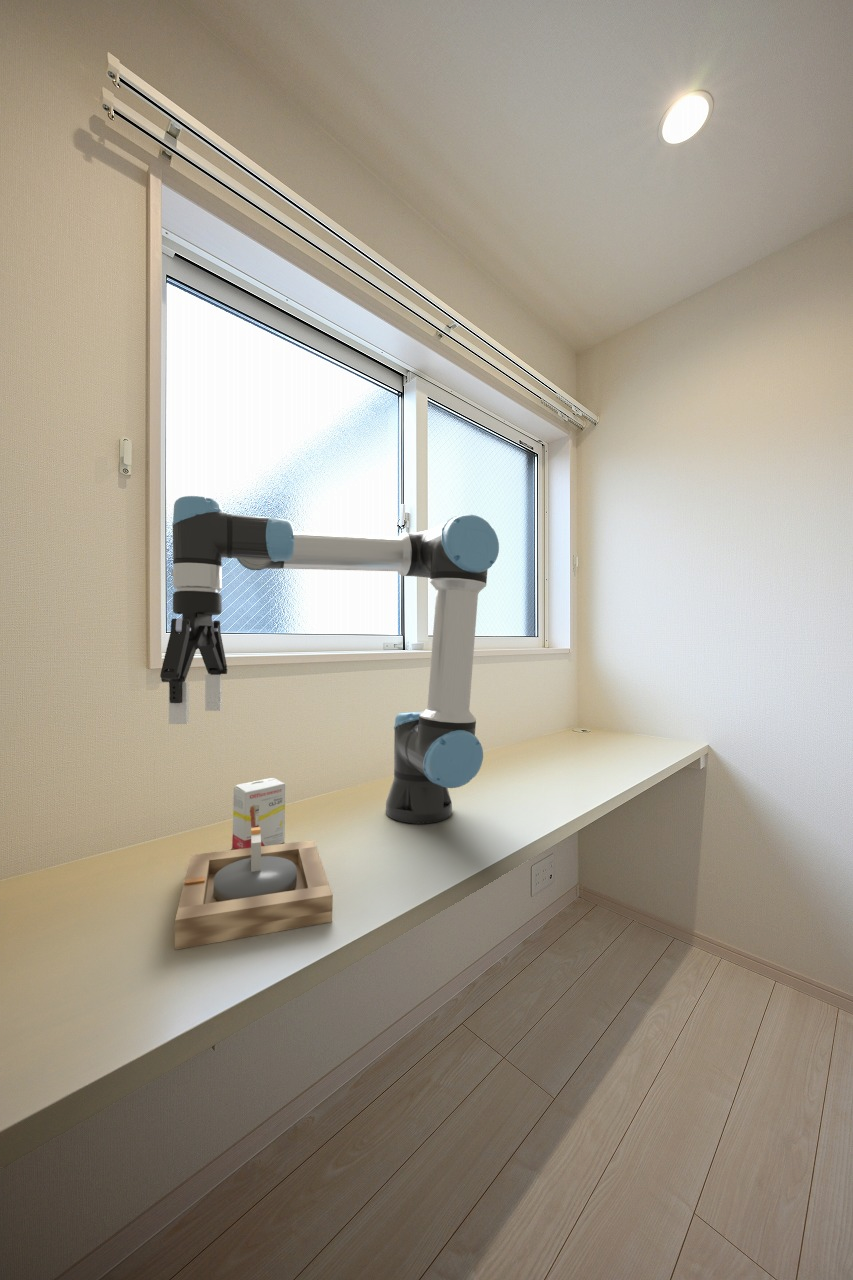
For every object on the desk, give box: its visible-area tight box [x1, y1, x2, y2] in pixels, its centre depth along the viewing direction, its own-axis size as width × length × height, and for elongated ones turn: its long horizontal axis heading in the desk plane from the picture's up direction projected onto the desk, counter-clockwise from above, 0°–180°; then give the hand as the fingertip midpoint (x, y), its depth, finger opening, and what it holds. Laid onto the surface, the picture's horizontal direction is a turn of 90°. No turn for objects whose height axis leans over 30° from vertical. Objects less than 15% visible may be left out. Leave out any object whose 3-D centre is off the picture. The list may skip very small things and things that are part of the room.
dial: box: [213, 827, 297, 902], centre depth 77 cm, size 12×12×7 cm
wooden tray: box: [174, 839, 334, 951], centre depth 77 cm, size 20×20×4 cm
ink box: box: [231, 777, 286, 850], centre depth 96 cm, size 9×5×12 cm, turn 137°
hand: (197, 716), depth 86 cm, fingers open, 13 cm apart
